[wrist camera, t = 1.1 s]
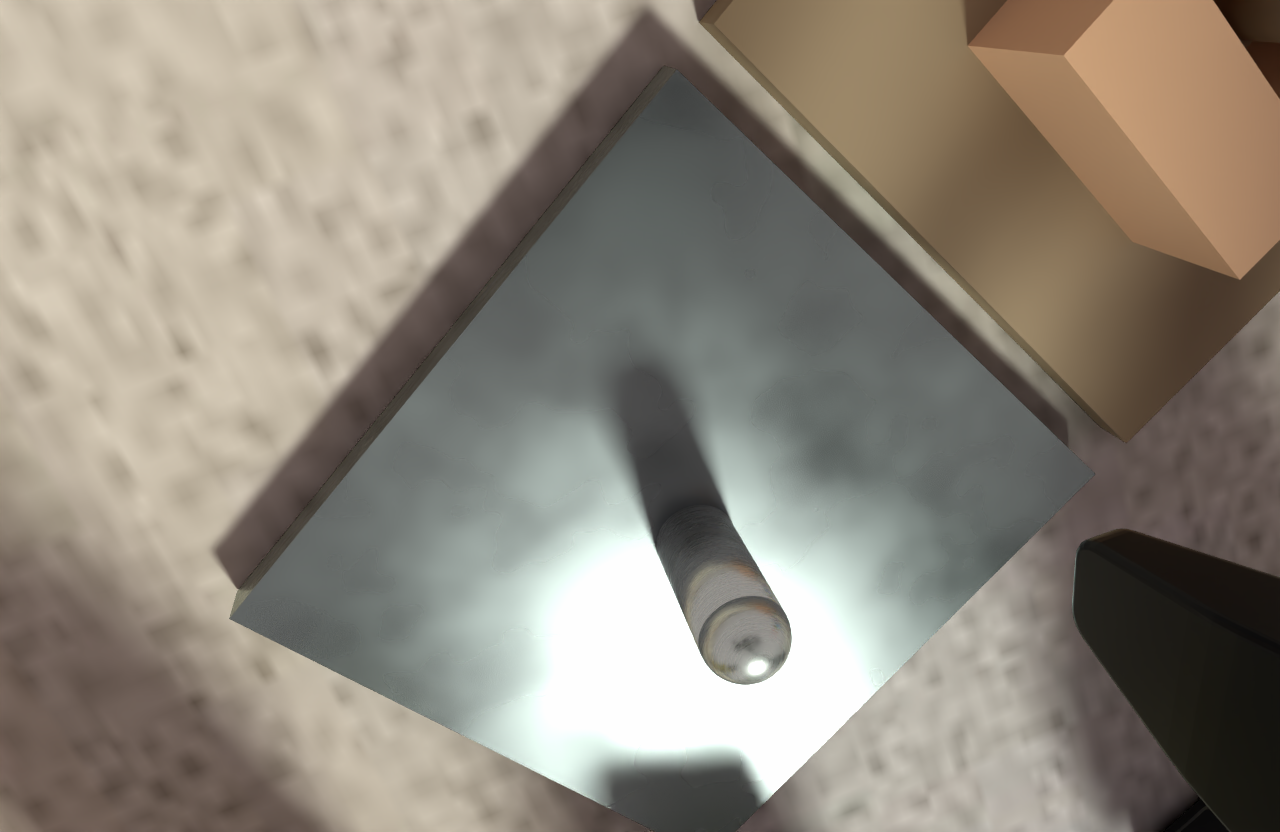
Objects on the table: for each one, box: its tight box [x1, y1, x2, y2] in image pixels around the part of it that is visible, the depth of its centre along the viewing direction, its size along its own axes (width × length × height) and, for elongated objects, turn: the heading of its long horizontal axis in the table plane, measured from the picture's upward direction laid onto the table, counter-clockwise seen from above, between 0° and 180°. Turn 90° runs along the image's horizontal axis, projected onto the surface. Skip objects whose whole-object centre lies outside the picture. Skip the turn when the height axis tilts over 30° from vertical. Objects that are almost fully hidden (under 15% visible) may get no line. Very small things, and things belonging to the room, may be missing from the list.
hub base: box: [229, 66, 1095, 832], centre depth 20 cm, size 14×14×5 cm
